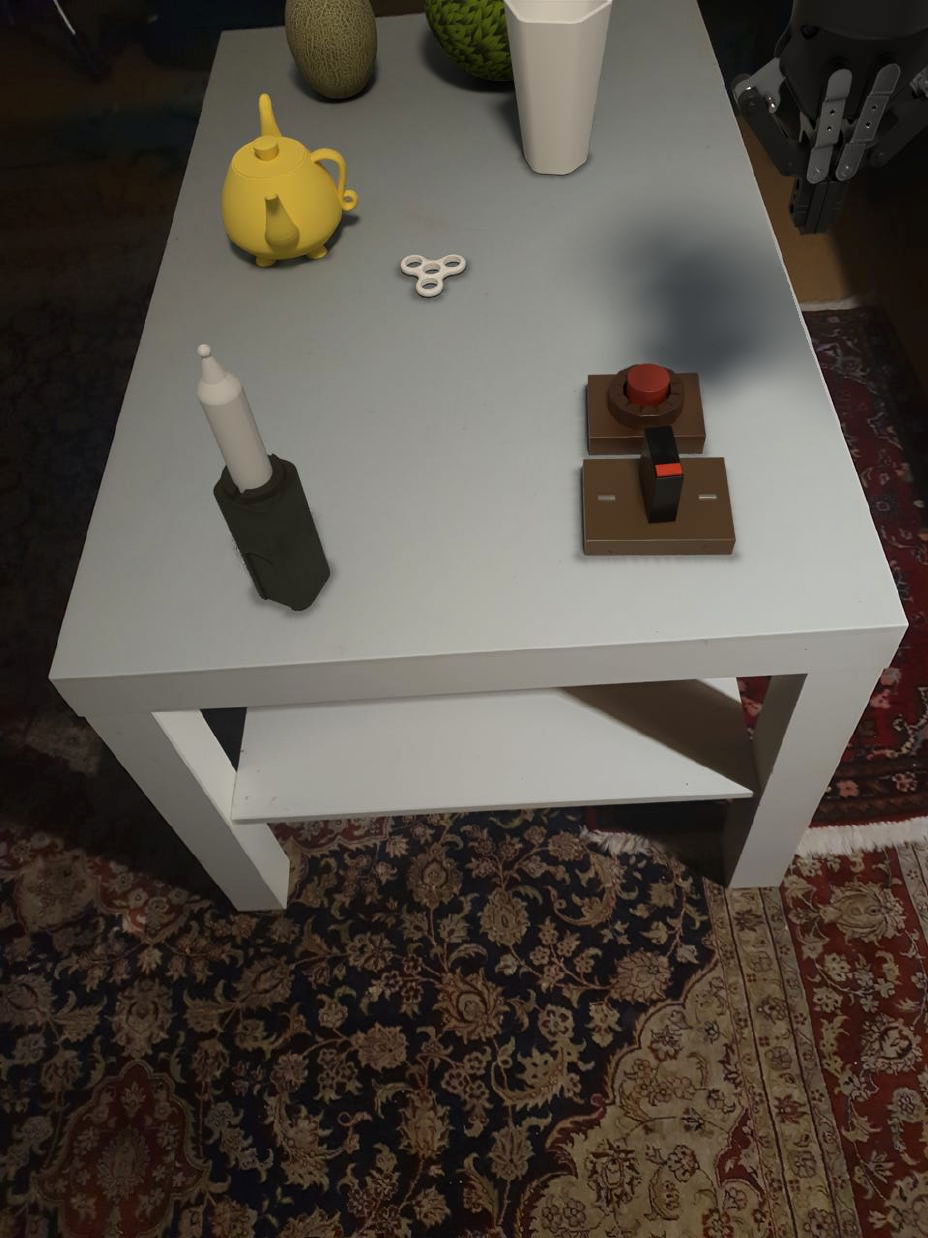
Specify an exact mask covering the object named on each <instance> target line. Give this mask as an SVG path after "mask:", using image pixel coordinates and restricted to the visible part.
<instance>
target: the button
mask: <svg viewBox="0 0 928 1238" xmlns="http://www.w3.org/2000/svg"><path fill="white" fill-rule="evenodd" d="M639 364H640V365H637V366H635V367H633V368H632V369H631V370H630V371H629V373H628V377H627V387H626V394H627V397H628V398H629V400H630V401H632V402H633V403H635V404H638V405H640V406H655V405H658V404H660V403H661V402H663V401H664V400H665V398H666V397H667V393H668V386H669V379H670V377H669V374H668V372H667V371H666V370H665V369H664V368H663V367H664V366H662V365H660V364H657V365H656V363H650V362H648V363H639ZM661 366H662V367H661Z"/></svg>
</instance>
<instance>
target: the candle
mask: <svg viewBox="0 0 928 1238" xmlns="http://www.w3.org/2000/svg"><path fill="white" fill-rule="evenodd" d="M197 355H198V356H200V360H201V361H200V364H201V365H200V368H201V369H200V371H201V377H200V379H199V381H198V385H197V388H196V397H197V399H198V401H199V404H200V406H201V408H202V411H203V413H204V415H205V417H206V420H207V423H208V425H209V427H210V430H211V432H212V434H213V437H214V439H215V441H216V444H217V446H218V449H219V451H220V454H221V456H222V458H223V461H224V463H225V465H224V467H223V469H222V470H221V474H220V478H219V479H218V481H216V483H215V485H214V486H213V488H212V489H213V490H212V492H213V493H212V494H213V496H214V498H215V501H216V503H217V505H218V508H219V509H220V512H221V514H222V516H223V518H224V520H225V523H226V525H227V528H228V530H229V532H230V534H231V536H232V538H233V541H234V543H235V545H236V547H237V549H238V552H239V553H240V556H241V558H242V560H243V563H244V565H245V567H246V569H247V571H248V574H249V576H250V578H251V581H252V582H253V584H254V587H255V589H256V591H257V593H258V595H259V597H260V598H261V599H263V600H265V601H267V600H270V601H273V602H275V603H279V604H282V605H284V606H288V607H289V608H290V609H291V610H292V611H296V612H298V611H300V612H301V611H304V610H307V609H308V608H310V607H311V606H312V605H313V603H314V602H315V600H316V598H317V597H318V595H319V594H320V592H321V591H322V589H323V588H324V586H325V584H326V583H327V581H328V579H329V578H330V576H331V569H330V566H329V564H328V561H327V560H328V559H327V557H326V554H325V551H324V548H323V545H322V542H321V539H320V536H319V533H318V530H317V526H316V523H315V521H314V518H313V515H312V511H311V508H310V505H309V503H308V499H307V496H306V493H305V489H304V486H303V484H302V481H301V478H300V474H299V471H298V469H297V467H296V465H295V464H294V463H293V462H292V461H289V460H286V459H283V458H280V457H279V456H278V455H276V454H275V453H273V452H272V453H271V454H268V453H267V450H266V447H265V444H264V442H263V439H262V436H261V433H260V431H259V427H258V425H257V421H256V419H255V416H254V413H253V410H252V407H251V405H250V403H249V400H248V397H247V394H246V392H245V388H244V386H243V382H242V381H241V379H240V378H239V376H237V375H236V374H235V373H233V372H231V371H229V370H228V369H226V368H224V366H223V365H222V364H221V363H220V362H219V361H218V359H216V357H215V356H214V355H213V354H212V348H211V345H208V344H206V343H202V344H199V346H198V348H197Z"/></svg>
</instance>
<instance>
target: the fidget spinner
mask: <svg viewBox="0 0 928 1238" xmlns="http://www.w3.org/2000/svg"><path fill="white" fill-rule="evenodd" d="M451 262H452V263H453V262H454V263H458V265H456V266H453V267H450V266H446V265H447V264H448V263H451ZM411 263H419V264H420V265H418V266H416V267H410V266H408V265H409V264H411ZM466 266H467V262H466V259H465V258H464V257H463V256H461V255H459V254H447V255H445V256H443V257H442V258H439V259H435V260H432V259H427V258H425V256H422V255H419V254H410V255H408V256H405V257H404V258H403V259H402V260H401V261H400V269H401V271H402V272H403V273H404V274H406V275H410V276H414V277H417V278H418V280H417V281H416V283H415V284H416V285H415V289H416V292H417V293H418V295H420V296H423V297H428V298H429V297H434V296H437V295H439V294H441V292H442V291H443V289H444V282H443V281H444V279H445V278H447V277H448V276H451V275H452V276H453V275H457V274H460V273H462V272H463V271H464V270H465V269H466ZM430 270H437V272H435V273H426V272H427V271H430ZM427 284H435V285H436V286H435V287H433V288H424V286H425V285H427Z"/></svg>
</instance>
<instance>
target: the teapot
mask: <svg viewBox="0 0 928 1238" xmlns="http://www.w3.org/2000/svg"><path fill="white" fill-rule="evenodd" d="M258 109H259V119H260V120H259V121H260V136H258V137H257V138H255V139H253V141H249V143H247V144H245V145H243V146H242V147H240V148H239V150H237V151H236V152H235V154H234V155H233V156H232V159H231V161H230V162H229V167H228V169H227V172H226V176H225V178H224V183H223V186H222V192H221V193H222V194H221V214H222V215H221V216H222V222H223V227H224V229H225V232H226V234H227V236H228V238H230V241H232V243H234V244H235V245H236V246H238V247H240V249H242V250H243V251H246V252H247V253H249V254H251V255H253V256H256V260H255V263H256V265H257V266H259V267H264V268H265V267H270V266H272V265H274V264H275V263H276V262H277V260H287V259H288V260H289V259H293V258H298V257H302V256H305V255H306V257H308V258H309V259H312V260H313V259H316V260H317V259H320V258H322V257H324V256H326V255H327V253H328V250H327V248H326V247H325V245H324V244H325V243H327V242H328V240H329V239H330V238H331V237H332V235H333V234H334V233H335V231H336V229H337V228H338V227H339V224H340V222H341V220H342V215H343V211H344V212H351V211H353V210H355V209H356V207H357V206H358V205H359V196H358V194H357V193H356V192H355V191H354V190H353V189H346V186H347V175H348V173H347V170H348V169H347V164H346V161H345V159H344V157H343V156H342V154H341V153H339V152H338V151H336V150H334V149H332V148H325V147H323V148H318V149H316V150H313V152H312V151H310V150H309V149H308V148H307V147H306V146H304V145H303V144H302V143H301V142H300V141H298V140H296V139H294V138H290V137H286V136H283V135H282V133H281V131H280V129H279V127H278V124H277V121H276V118H275V115H274V111H273V106H272V101H271V98H270V96H269V95H268V94H267V93H262V94H261V95H260V97H259V100H258ZM324 160H325V161H326V160H328V161H331V162H334V163H336V165H337V167H338V182H337V185H336V183H335V181H334V180H333V177H332V176H331V174H330V172H329V171H328V170H327V168H326V167H325V166H324V164H323V163H322V162H321V161H324ZM346 198H350V200H346Z"/></svg>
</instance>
